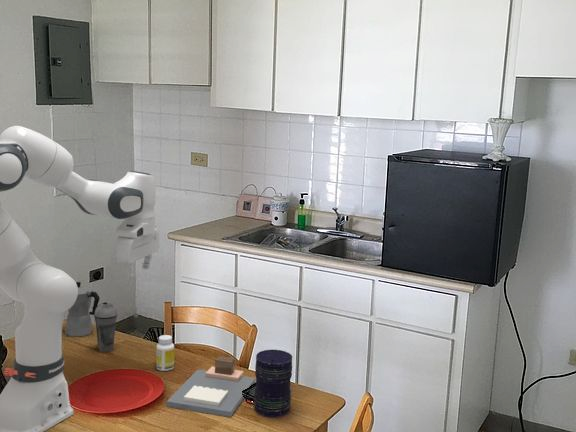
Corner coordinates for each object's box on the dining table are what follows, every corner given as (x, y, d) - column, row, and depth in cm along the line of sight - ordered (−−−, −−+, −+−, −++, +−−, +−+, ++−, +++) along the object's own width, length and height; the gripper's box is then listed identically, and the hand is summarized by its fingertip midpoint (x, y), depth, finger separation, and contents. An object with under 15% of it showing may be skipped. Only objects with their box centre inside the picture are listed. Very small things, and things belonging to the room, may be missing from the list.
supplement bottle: (176, 364, 199) (176, 334, 197) (171, 372, 193) (171, 341, 192) (159, 363, 199) (159, 333, 197) (153, 370, 194) (154, 339, 192)
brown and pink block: (238, 381, 185) (238, 364, 185) (205, 376, 188) (205, 360, 187) (243, 374, 190) (243, 358, 189) (211, 369, 192) (211, 353, 192)
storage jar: (256, 398, 179) (258, 347, 176) (292, 402, 178) (294, 351, 175) (250, 416, 169) (252, 362, 166) (288, 419, 168) (290, 365, 165)
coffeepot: (54, 332, 220) (53, 282, 217) (73, 324, 229) (73, 275, 226) (89, 341, 214) (89, 289, 211) (108, 332, 223) (108, 282, 220)
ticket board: (230, 417, 168) (230, 407, 167) (166, 406, 172) (166, 397, 171) (255, 382, 189) (255, 374, 188) (197, 374, 193) (197, 365, 192)
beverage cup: (93, 345, 211) (93, 286, 207) (116, 344, 213) (116, 285, 209) (94, 354, 204) (93, 293, 200) (118, 352, 206) (118, 292, 203)
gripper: (146, 219, 198) (145, 263, 200) (111, 231, 179) (111, 279, 181) (164, 221, 197) (163, 265, 199) (132, 233, 177) (131, 281, 179)
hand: (138, 272), depth 190 cm, fingers open, 8 cm apart
